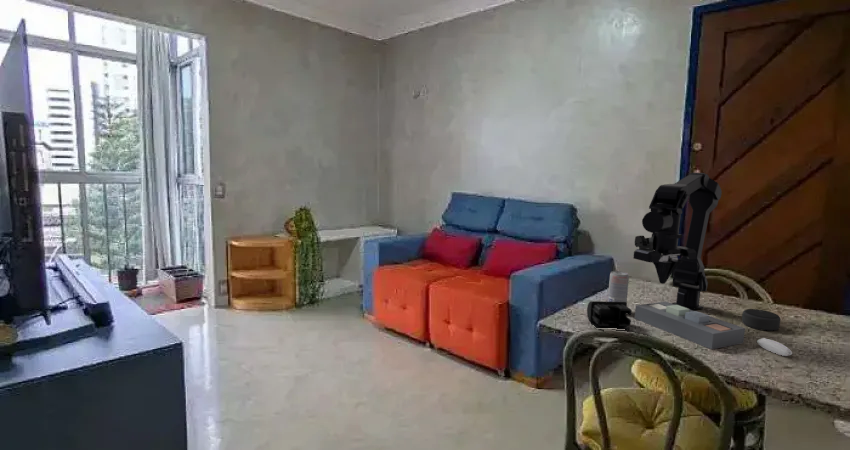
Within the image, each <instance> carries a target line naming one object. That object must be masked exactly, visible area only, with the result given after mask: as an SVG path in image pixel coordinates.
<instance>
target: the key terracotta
mask: <svg viewBox="0 0 850 450" xmlns="http://www.w3.org/2000/svg"><path fill="white" fill-rule="evenodd" d="M706 326H707V327H710V328H713V329H716V330H718V331H726V330H731V329H730V328H727V327H724V326H721V325H718V324H711V325H706Z"/></svg>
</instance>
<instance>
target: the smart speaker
mask: <svg viewBox="0 0 850 450" xmlns="http://www.w3.org/2000/svg"><path fill="white" fill-rule="evenodd" d="M741 322H742V323H743V324H744V325H745V326H747V327H750V328H752V329H755V330H761V331H766V330H767V332H769V331H772V332H773V330H774V331H777V330H779V328H780V326H781V317H780V315H778V314H777V313H774V312H771V311H768V310H765V309H755V308H748V309H744V310H743V311H742V316H741Z"/></svg>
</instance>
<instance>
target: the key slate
mask: <svg viewBox="0 0 850 450" xmlns="http://www.w3.org/2000/svg"><path fill="white" fill-rule="evenodd" d="M709 316H710V315H709V314H707V313H703V312H700V311H697V310H693V312H686V313H685V319H688V320H690V321H693V322H696V323H699V324H700V323H706V322H709Z"/></svg>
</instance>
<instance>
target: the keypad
mask: <svg viewBox="0 0 850 450" xmlns="http://www.w3.org/2000/svg"><path fill="white" fill-rule="evenodd" d="M672 303H673V302H672ZM672 303H671V302H668V301H657V302H651V303H650V302H649V303H643V304H635V309H634V310H635V311H634V319H635V320H637V321H640V322H642V323H645V324H647V325H650V326H652V327H655V328H657V329H660V330H662V331H665V332H667V333H669V334H673V335H675V336H677V337H679V338H682V339H684V340H686V341H687V340H688V341H690V342H693V343H695V344H697V345H700V346H703V347H705V348H707V349H710V350H715V349H720V348H724V347H725V348H726V347H730V346H734V345H735V346H736V345H741V344H744V340H745V331H746V328H745V327H743V326H740V325H737V324H734V323H731V322H728V321H725V320H722V319H719V318H715V317H713V316H710V315H709V322H706V323H700V324H699V323H696V322H693V321H690V320H688V319H685V316H676V315H674V314H671V313H668V312H666V309H662V310H660V309H657V308H654V307H651V306H649V305H653V304H660V305H663V306H666V307H667V306H671V305H675V304H672ZM693 311H694V310H690V309H689V312H693ZM711 324H718V325H721V326H724V327H727V328H730V329H731V330H726V331H718V330H716V329H713V328H710V327H707V326H706V325H711Z"/></svg>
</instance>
